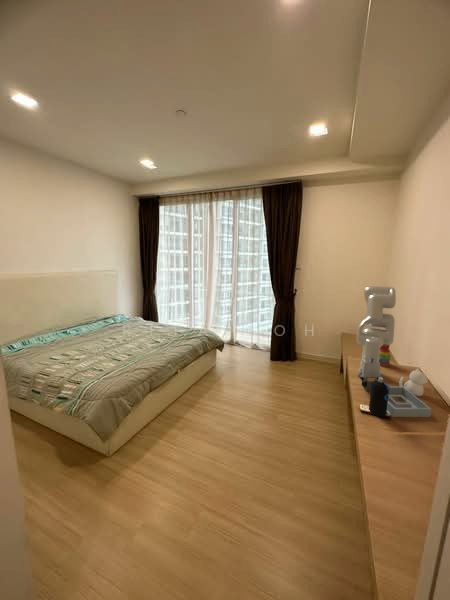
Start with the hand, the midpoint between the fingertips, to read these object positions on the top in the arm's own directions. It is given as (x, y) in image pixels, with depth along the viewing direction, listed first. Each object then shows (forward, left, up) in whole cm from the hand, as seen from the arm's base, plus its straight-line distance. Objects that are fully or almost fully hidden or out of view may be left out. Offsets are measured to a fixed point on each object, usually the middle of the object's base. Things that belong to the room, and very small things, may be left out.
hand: (368, 386), depth 143 cm
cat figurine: (+3, +23, -3) cm, 23 cm away
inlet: (+15, +8, -2) cm, 17 cm away
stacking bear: (-34, +28, -3) cm, 44 cm away
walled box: (+15, +8, -2) cm, 17 cm away
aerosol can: (+21, -6, -3) cm, 22 cm away
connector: (0, 0, -2) cm, 2 cm away
